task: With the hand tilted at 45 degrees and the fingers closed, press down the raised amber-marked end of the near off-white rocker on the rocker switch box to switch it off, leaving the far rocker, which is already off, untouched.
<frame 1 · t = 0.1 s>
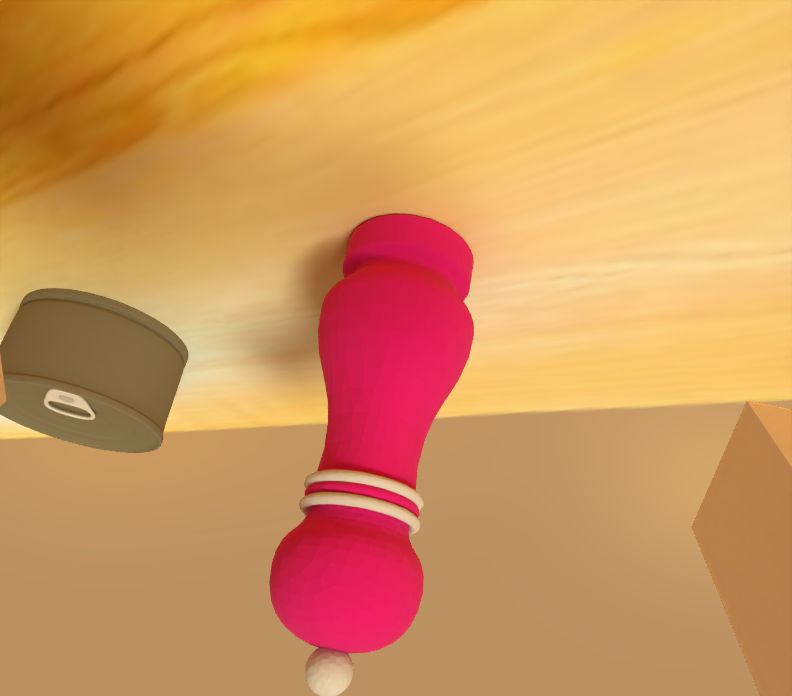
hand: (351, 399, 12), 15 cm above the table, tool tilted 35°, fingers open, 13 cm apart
pepper mill: (411, 249, 34), on the table
can: (109, 329, 50), on the table
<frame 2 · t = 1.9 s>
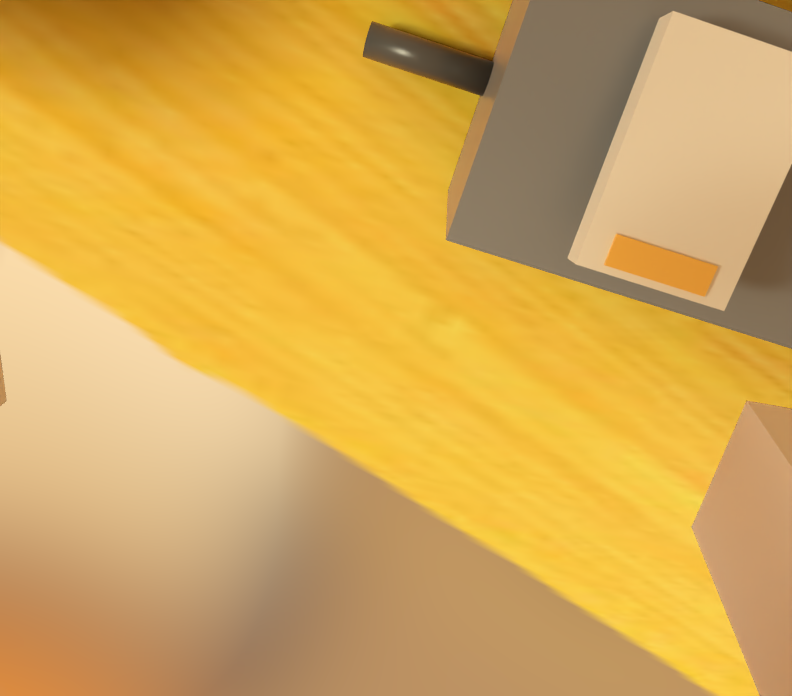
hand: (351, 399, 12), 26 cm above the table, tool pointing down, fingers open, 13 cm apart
rocker switch box: (766, 168, 35), on the table
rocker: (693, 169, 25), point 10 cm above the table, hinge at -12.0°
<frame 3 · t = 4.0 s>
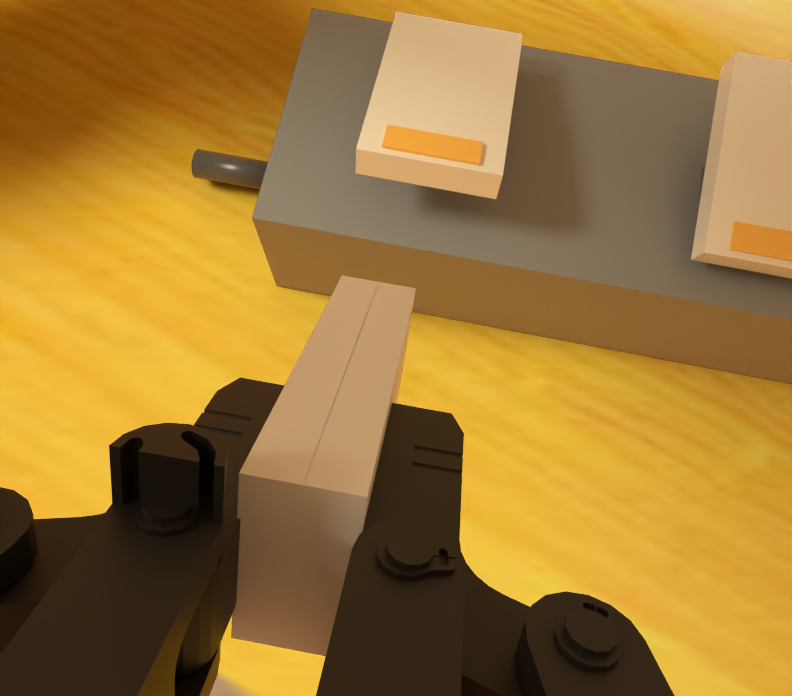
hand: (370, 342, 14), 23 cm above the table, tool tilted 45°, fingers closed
rocker switch box: (553, 239, 40), on the table
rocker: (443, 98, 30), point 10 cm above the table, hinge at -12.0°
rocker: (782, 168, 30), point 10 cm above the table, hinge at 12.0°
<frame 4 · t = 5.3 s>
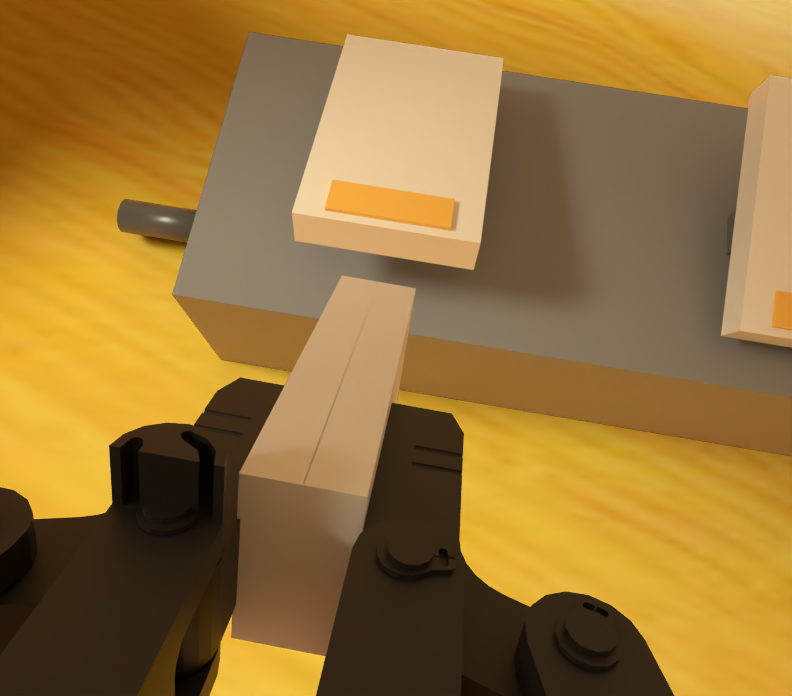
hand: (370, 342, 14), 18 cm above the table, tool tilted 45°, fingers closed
rocker switch box: (548, 295, 34), on the table
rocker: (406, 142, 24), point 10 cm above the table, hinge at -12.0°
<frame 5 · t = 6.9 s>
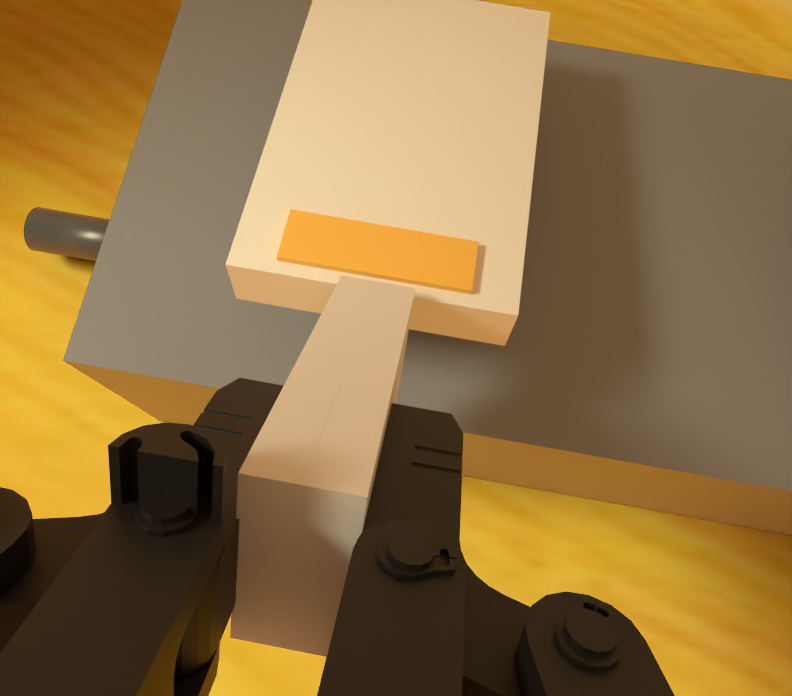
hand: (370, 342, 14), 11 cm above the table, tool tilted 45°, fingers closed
rocker switch box: (588, 337, 26), on the table
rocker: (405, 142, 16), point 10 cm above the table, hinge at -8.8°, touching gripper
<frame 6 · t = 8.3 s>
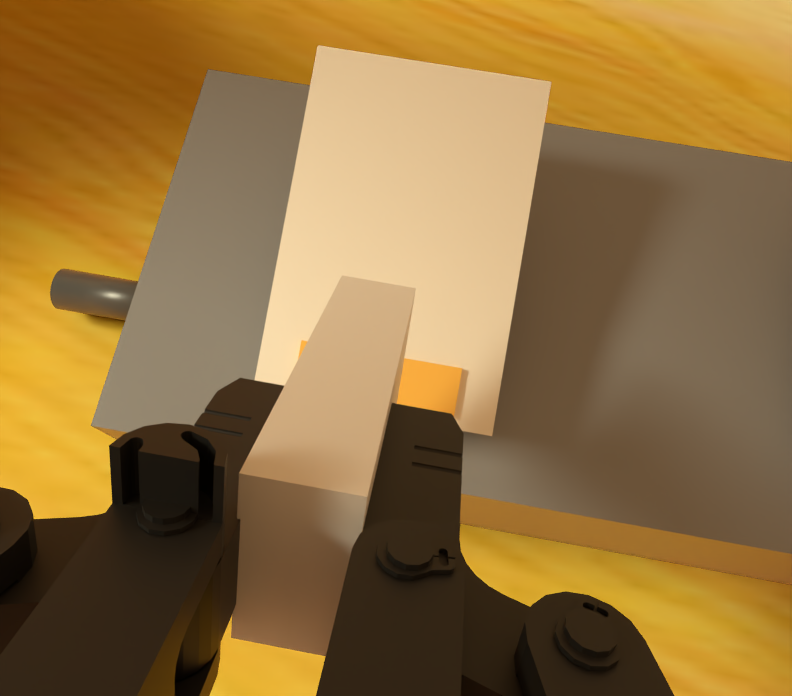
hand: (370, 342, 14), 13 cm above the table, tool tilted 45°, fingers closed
rocker switch box: (583, 389, 27), on the table
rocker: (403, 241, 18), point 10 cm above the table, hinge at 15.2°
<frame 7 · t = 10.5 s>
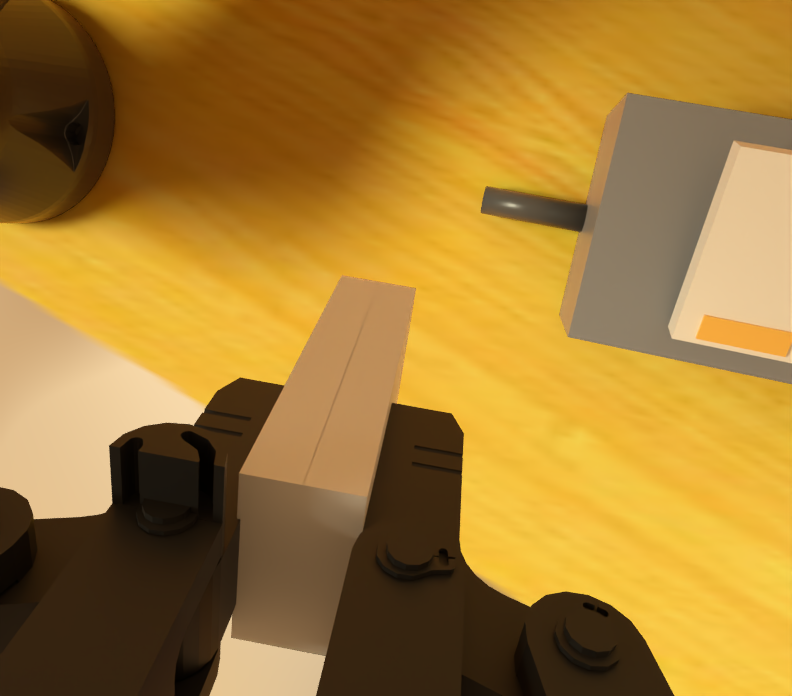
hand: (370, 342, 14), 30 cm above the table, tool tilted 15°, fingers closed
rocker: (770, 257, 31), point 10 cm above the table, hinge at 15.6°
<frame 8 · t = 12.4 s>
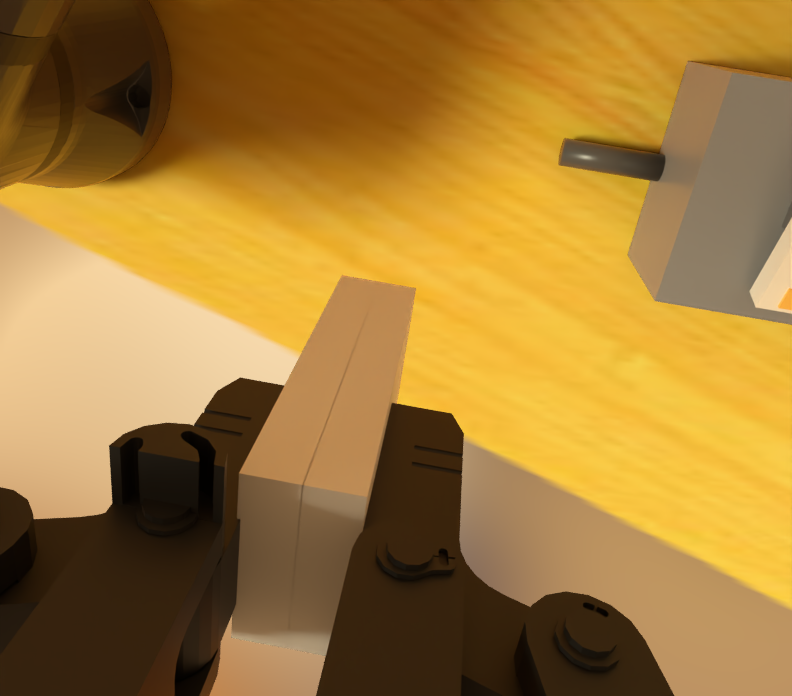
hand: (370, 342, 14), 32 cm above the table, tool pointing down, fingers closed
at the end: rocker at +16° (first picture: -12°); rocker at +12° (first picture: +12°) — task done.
